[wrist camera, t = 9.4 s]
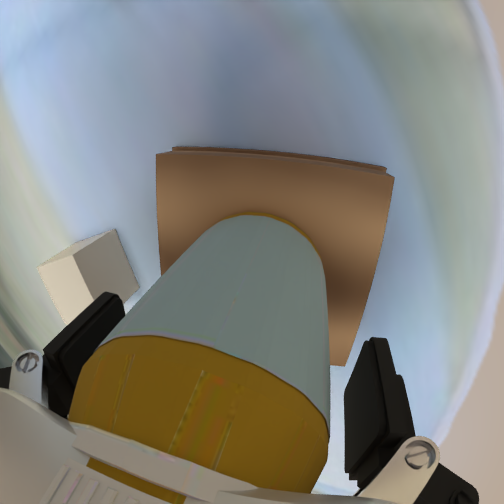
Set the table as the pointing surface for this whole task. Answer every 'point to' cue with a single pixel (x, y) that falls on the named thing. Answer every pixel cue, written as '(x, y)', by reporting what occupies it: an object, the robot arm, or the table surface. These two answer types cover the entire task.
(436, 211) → the table surface
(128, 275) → the stone cube
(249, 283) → the bottle
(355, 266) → the plinth
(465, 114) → the table surface
